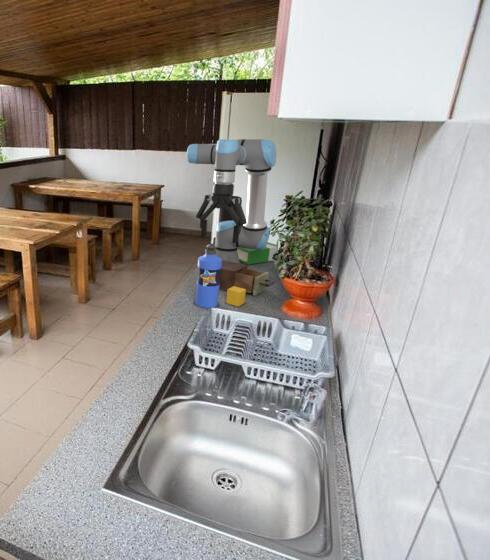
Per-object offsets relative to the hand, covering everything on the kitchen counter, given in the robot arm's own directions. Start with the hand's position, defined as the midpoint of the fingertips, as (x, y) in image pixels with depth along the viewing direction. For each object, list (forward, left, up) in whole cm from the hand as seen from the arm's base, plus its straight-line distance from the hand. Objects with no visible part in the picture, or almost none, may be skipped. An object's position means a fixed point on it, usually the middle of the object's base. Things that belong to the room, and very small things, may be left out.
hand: (218, 239), depth 164 cm
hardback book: (-65, -23, -23) cm, 73 cm away
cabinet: (-25, -8, -27) cm, 38 cm away
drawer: (-25, +5, -26) cm, 37 cm away
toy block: (-8, +6, -27) cm, 29 cm away
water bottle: (+1, -3, -27) cm, 27 cm away
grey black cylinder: (-95, -44, -27) cm, 108 cm away
